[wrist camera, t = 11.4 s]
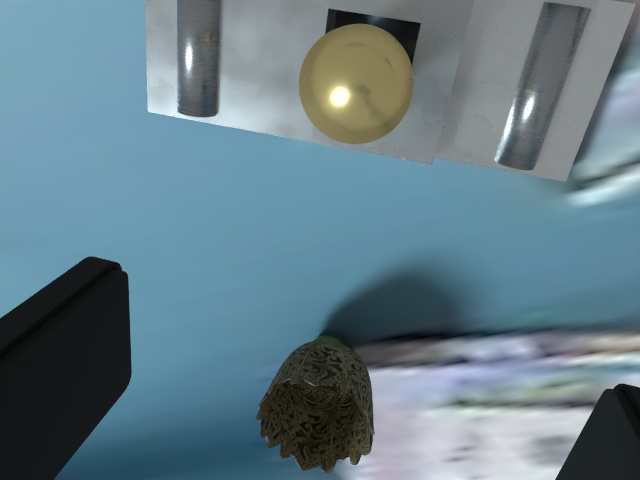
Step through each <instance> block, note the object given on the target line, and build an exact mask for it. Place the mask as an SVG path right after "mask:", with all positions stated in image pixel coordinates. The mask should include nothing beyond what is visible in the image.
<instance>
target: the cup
mask: <svg viewBox="0 0 640 480" xmlns="http://www.w3.org/2000/svg"><path fill="white" fill-rule="evenodd" d="M258 408H259V409H260V410H259V412H258V414H257V417H256V422H257V421H260V420H262V421H261V437H262V438H264V437H265V436H266V435H267V436H266V441H267V446H268V448H272V447H275V446H277V445H279V443H281V450H280V458H282V459H285V458H288V457H290V455H289V454H290V453H291V455H292V456H294V457H295V461H296V463H297V464H298V466H299V467H300V468H301V469H302V470H311V469H313V468H316V467H318V466H320V465H321V469H322V471H323V472H325V473H330V472H331V471H332V470H333V468H334V466H335V463H336V460H338V459H342V460H343V461H344V460H345V459H346V458H347V457H350V461H351V464H352V465H357V464H358V462H359V460H360V458H361V455H364V456H365V455H367V454H369V453H370V451H371V447H372V441H373V435H374V427H373V402H372V389H371V381H370V377H369V373H368V371H367V368H366V366H365V364H364V362H363V361H362V359H361V358H360V357H359V356H358V355H357V354H356V353H355V351H354V349H353V347H352V345H351V344H350V343H349V342H348V341H347V340H346V339H345V338H343V337H341V336H339V335H335V334H325V335H322V336H319V337H318V338H316V339H315V340H314V341H312V342H309V343H306V344H304V345H302V346H300V347H299V348H297V349H296V350H294V351H293V352H292V353H291V354H290V355H289V356H288V358H287V359H286V360H285V362H284V363H283V364H282V366H281V368H280V369H279V371H278V373H277V374H276V376H275V378H274V380H273V381H272V383H271V385H270V387H269V388H268V390H267V392H266V394H265V396H264V398H263V399H262V400H261V402H260V403H259V405H258Z"/></svg>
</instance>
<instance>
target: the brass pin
mask: <svg viewBox="0 0 640 480" xmlns="http://www.w3.org/2000/svg"><path fill="white" fill-rule="evenodd" d="M412 93H413V70H412V66H411V62H410V60H409V57H408V55H407V53H406V51H405V49H404V48H403V46H402V45H401V44H400V42H399V41H398V40H397V39H396V38H395V37H394V36H393V35H391V34H390V33H388V32H387V31H385V30H383V29H381V28H378V27H376V26H372V25H368V24H351V25H346V26H342V27H339V28H337V29H334V30H332V31H330V32H328V33H326V34H325V35H324V36H322V37H321V38H320V39H319V40H318V41H317V42H315V44H314V45H313V46H312V47H311V48H310V50H309V51H308V53H307V55H306V57H305V59H304V61H303V63H302V67H301V70H300V75H299V95H300V100H301V103H302V106H303V109H304V111H305V113H306V115H307V117H308V118H309V120H310V121H311V122H312V124H313V125H314V126H315V127H316V128H317V129H318V130H319V131H320V132H322V133H323V134H324V135H326V136H328V137H329V138H331V139H333V140H336V141H339V142H342V143H347V144H364V143H369V142H373V141H375V140H378V139H380V138H382V137H384V136H385V135H387V134H388V133H390V132H391V131H392V130H393V129H394V128H395V127H396V126H397V125H398V124H399V123H400V122H401V120H402V119H403V117H404V116H405V114H406V112H407V110H408V108H409V105H410V102H411V99H412Z"/></svg>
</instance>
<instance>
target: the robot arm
mask: <svg viewBox="0 0 640 480" xmlns="http://www.w3.org/2000/svg"><path fill="white" fill-rule="evenodd" d="M130 378H131V344H130V315H129V286H128V275H127V273H126V272H124V271H122V268H121V266H120V264H119V263H117V262H113V261H109V260H105V259H101V258H97V257H87V258H85V259H84V260H82V261H81V262H79V263H78V264H77V265H75V266H74V267H72V268H71V269H69V270H68V271H67V272H65V273H64V274H62V275H61V276H60V277H58V278H57V279H55V280H54V281H53V282H51V283H50V284H48V285H47V286H45V287H44V288H43V289H41V290H40V291H38V292H37V293H36V294H34V295H33V296H31V297H30V298H29V299H27V300H26V301H24V302H23V303H21V304H20V305H19V306H17V307H16V308H14V309H13V310H12V311H10V312H9V313H7V314H6V315H5V316H3V317H2V318H0V480H54V478H55V477H56V476H57V475H58V473H59V472H60V471H61V470H62V468H63V467H64V466H65V465H66V463H67V462H68V461H69V460H70V458H71V457H72V456H73V455H74V453H75V452H76V451H77V450H78V448H79V447H80V446H81V445H82V443H83V442H84V441H85V440H86V438H87V437H88V436H89V435H90V434H91V432H92V431H93V430H94V429H95V427H96V426H97V425H98V424H99V422H100V421H101V420H102V419H103V417H104V416H105V415H106V414H107V412H108V411H109V410H110V409H111V407H112V406H113V405H114V404H115V402H116V401H117V400H118V399H119V397H120V396H121V395H122V394H123V392H124V391H125V390H126V388H127V386H128V384H129V382H130ZM555 480H640V388H639V387H635V386H631V385H627V384H618V385H617V386H615V387H614V389H606V390H605V391H604V392H603V393H602V395H601V397H600V398H599V400H598V402H597V404H596V406H595V408H594V409H593V411H592V413H591V415H590V417H589V419H588V421H587V422H586V424H585V426H584V428H583V430H582V432H581V433H580V435H579V437H578V439H577V441H576V443H575V444H574V446H573V448H572V450H571V452H570V454H569V455H568V457H567V459H566V461H565V463H564V465H563V466H562V468H561V470H560V472H559V474H558V476H557V477H556V479H555Z"/></svg>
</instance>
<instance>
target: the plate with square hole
mask: <svg viewBox="0 0 640 480" xmlns="http://www.w3.org/2000/svg"><path fill="white" fill-rule="evenodd" d="M635 6H636V4H635V3H628V2H621V1H615V0H145V27H146V62H147V97H148V112H152V113H158V114H163V115H169V116H174V117H179V118H185V119H190V120H195V121H201V122H206V123H211V124H217V125H222V126H227V127H233V128H238V129H243V130H249V131H254V132H260V133H265V134H270V135H276V136H281V137H286V138H292V139H297V140H302V141H308V142H313V143H318V144H324V145H329V146H335V147H340V148H345V149H351V150H356V151H361V152H367V153H372V154H377V155H383V156H388V157H393V158H399V159H404V160H409V161H415V162H420V163H426V164H431V165H432V164H433V160H434V158H440V159H445V160H450V161H456V162H461V163H467V164H472V165H477V166H483V167H488V168H494V169H499V170H504V171H510V172H515V173H521V174H526V175H531V176H537V177H542V178H548V179H553V180H558V181H564V182H566V180H567V177H568V175H569V172H570V170H571V167H572V165H573V162H574V160H575V157H576V155H577V152H578V150H579V147H580V145H581V142H582V139H583V137H584V134H585V132H586V129H587V127H588V124H589V122H590V119H591V117H592V114H593V112H594V109H595V107H596V104H597V102H598V99H599V97H600V94H601V92H602V89H603V87H604V84H605V81H606V79H607V76H608V74H609V71H610V69H611V66H612V64H613V61H614V59H615V56H616V54H617V51H618V49H619V46H620V44H621V41H622V39H623V36H624V34H625V31H626V29H627V26H628V23H629V21H630V18H631V16H632V13H633V11H634V8H635ZM337 10H342V11H348V12H354V13H361V14H367V15H373V16H380V17H386V18H392V19H398V20H405V21H411V22H417V23H420V27H419V31H418V36H417V41H416V45H415V50H414V55H413V59H412V64H411V66H412V70H413V93H412V99H411V102H410V105H409V108H408V110H407V112H406V114H405V116H404V117H403V119H402V120H401V122H400V123H399V124H398V125H397V126H396V127H395V128H394V129H393V130H392V131H391V132H390V133H388V134H387V135H385V136H384V137H382V138H380V139H378V140H375V141H373V142H369V143H364V144H347V143H342V142H339V141H336V140H333V139H331V138H329V137H328V136H326V135H324V134H323V133H322V132H320V131H319V130H318V129H317V128H316V127H315V126H314V125H313V124H312V122H311V121H310V120H309V118H308V117H307V115H306V113H305V111H304V109H303V106H302V103H301V100H300V95H299V75H300V70H301V67H302V63H303V61H304V59H305V57H306V55H307V53H308V51H309V50H310V48H311V47H312V46H313V45H314V44H315V42H317V41H318V40H319V39H320V38H321V37H322V36H324V35H325V34H326V33H328V32H330V31H332V30H334V28H335V21H336V14H337Z"/></svg>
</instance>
